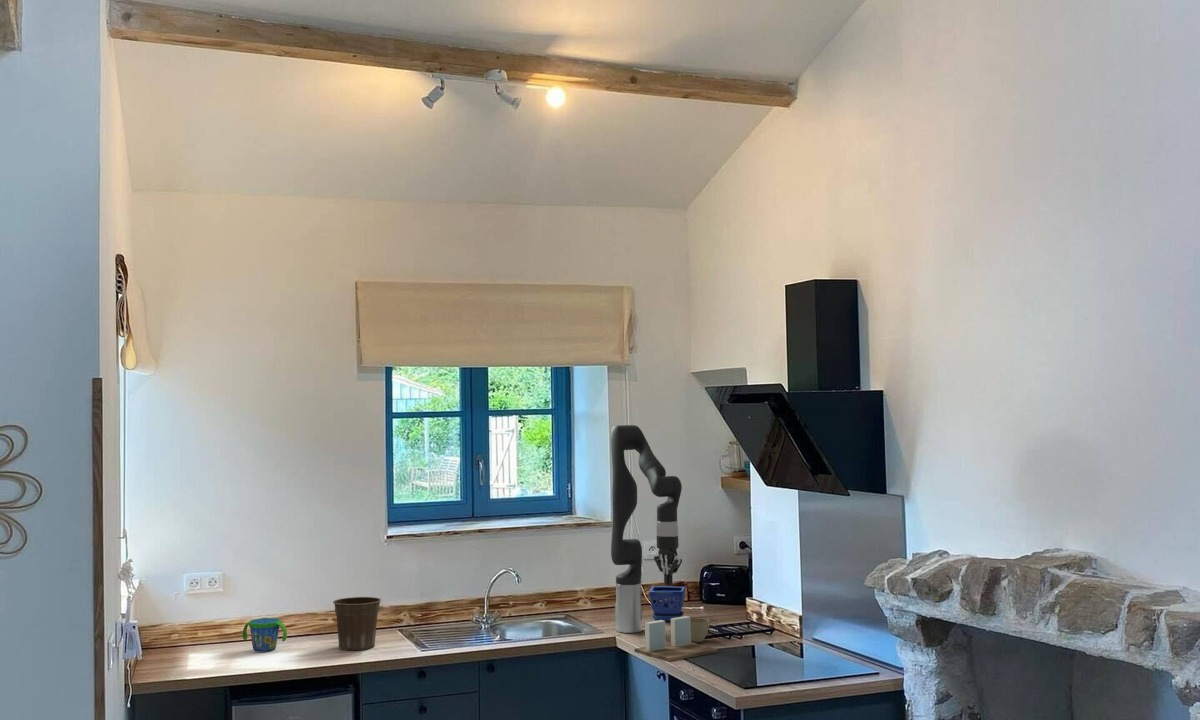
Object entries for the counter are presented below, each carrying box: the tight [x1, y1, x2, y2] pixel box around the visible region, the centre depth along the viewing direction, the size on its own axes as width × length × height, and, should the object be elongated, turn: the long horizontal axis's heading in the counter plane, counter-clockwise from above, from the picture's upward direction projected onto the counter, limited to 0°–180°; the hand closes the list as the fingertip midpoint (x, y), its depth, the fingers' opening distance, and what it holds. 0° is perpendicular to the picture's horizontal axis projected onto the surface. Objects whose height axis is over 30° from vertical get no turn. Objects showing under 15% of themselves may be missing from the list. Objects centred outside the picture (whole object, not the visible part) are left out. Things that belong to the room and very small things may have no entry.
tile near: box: [644, 620, 667, 651], centre depth 346 cm, size 2×7×9 cm, turn 126°
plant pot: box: [332, 596, 382, 651], centre depth 362 cm, size 16×16×16 cm
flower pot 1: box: [649, 585, 686, 622], centre depth 404 cm, size 13×13×12 cm
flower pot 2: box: [690, 617, 711, 643], centre depth 363 cm, size 10×10×7 cm
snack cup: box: [242, 617, 288, 653], centre depth 359 cm, size 16×10×10 cm
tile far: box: [670, 615, 691, 646], centre depth 353 cm, size 2×7×9 cm, turn 126°
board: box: [634, 641, 719, 662], centre depth 346 cm, size 18×21×1 cm
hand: (668, 585), depth 359 cm, fingers closed
